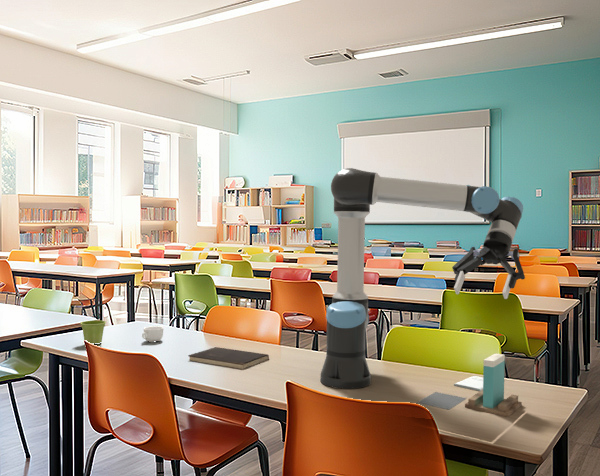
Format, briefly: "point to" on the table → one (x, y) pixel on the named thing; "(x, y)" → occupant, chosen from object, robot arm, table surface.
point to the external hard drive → (471, 383)
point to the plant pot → (93, 330)
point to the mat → (441, 400)
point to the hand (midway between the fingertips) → (479, 293)
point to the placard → (493, 380)
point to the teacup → (153, 333)
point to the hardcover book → (228, 357)
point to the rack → (501, 409)
